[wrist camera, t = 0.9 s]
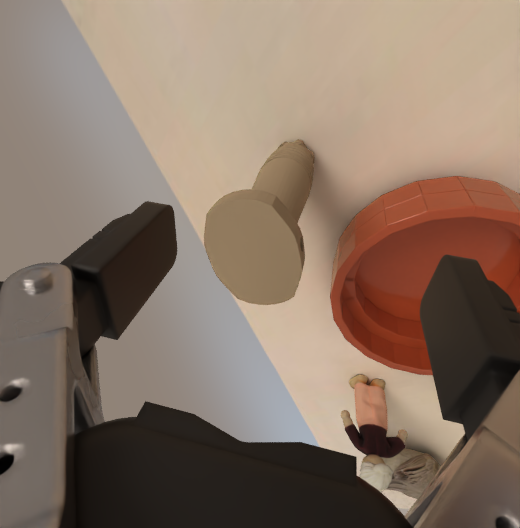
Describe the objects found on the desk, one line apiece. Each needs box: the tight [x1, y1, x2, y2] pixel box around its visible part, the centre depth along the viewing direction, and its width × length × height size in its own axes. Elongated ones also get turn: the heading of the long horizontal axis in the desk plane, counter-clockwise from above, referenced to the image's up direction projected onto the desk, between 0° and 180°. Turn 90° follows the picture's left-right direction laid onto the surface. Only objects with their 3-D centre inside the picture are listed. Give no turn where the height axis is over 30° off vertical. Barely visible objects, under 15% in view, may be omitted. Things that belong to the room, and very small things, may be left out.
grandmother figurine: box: [341, 375, 408, 492], centre depth 39 cm, size 8×4×13 cm, turn 92°
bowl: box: [330, 176, 520, 375], centre depth 29 cm, size 18×18×6 cm
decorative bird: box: [380, 448, 441, 499], centre depth 48 cm, size 5×16×8 cm, turn 67°
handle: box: [204, 140, 314, 305], centre depth 23 cm, size 5×6×15 cm
